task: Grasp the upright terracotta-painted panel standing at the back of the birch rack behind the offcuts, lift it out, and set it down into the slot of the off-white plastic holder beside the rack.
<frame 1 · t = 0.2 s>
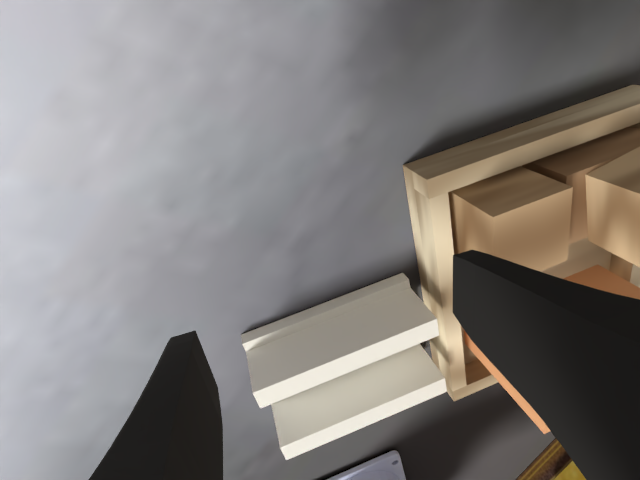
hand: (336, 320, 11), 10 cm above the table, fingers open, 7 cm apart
panel: (531, 304, 27), point 1 cm above the table, touching rack
offcut a: (568, 175, 23), point 1 cm above the table, touching offcut b, rack
rack: (521, 247, 25), on the table
offcut b: (621, 191, 20), point 4 cm above the table, touching offcut a
book: (554, 459, 39), on the table
offcut c: (479, 208, 22), point 1 cm above the table, touching rack
holder: (337, 345, 25), on the table
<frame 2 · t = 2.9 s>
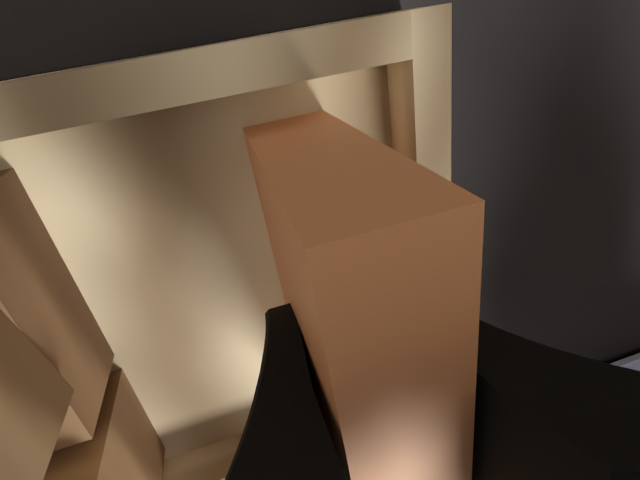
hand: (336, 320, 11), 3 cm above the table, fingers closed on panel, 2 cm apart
panel: (313, 275, 13), point 1 cm above the table, touching gripper, rack
rack: (189, 293, 13), on the table
offcut c: (82, 431, 13), point 1 cm above the table, touching rack
when the fingers open (5 cm above the table, at t = 6.6 s): panel stays where it is, resting on holder.
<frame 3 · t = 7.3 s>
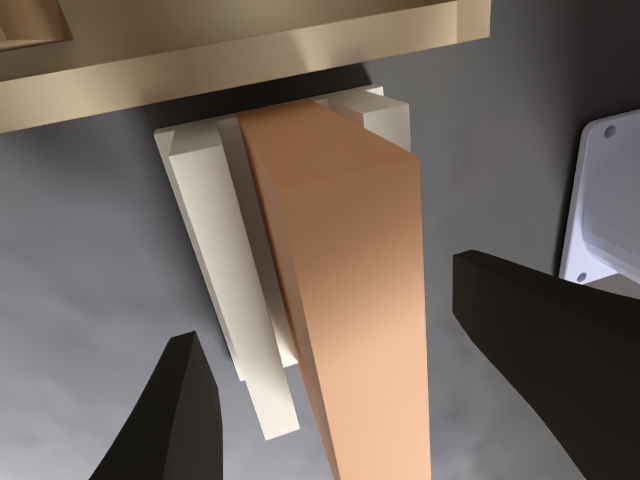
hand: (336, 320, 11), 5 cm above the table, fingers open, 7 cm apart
panel: (302, 250, 14), point 1 cm above the table, touching holder
holder: (297, 242, 15), on the table
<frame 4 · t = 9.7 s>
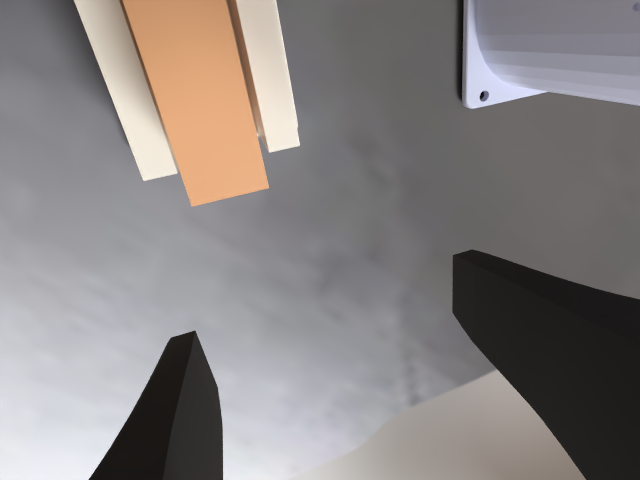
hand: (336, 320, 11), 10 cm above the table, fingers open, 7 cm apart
panel: (183, 9, 15), point 1 cm above the table, touching holder
holder: (185, 14, 16), on the table
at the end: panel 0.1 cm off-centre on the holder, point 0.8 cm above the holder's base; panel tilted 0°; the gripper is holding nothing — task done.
